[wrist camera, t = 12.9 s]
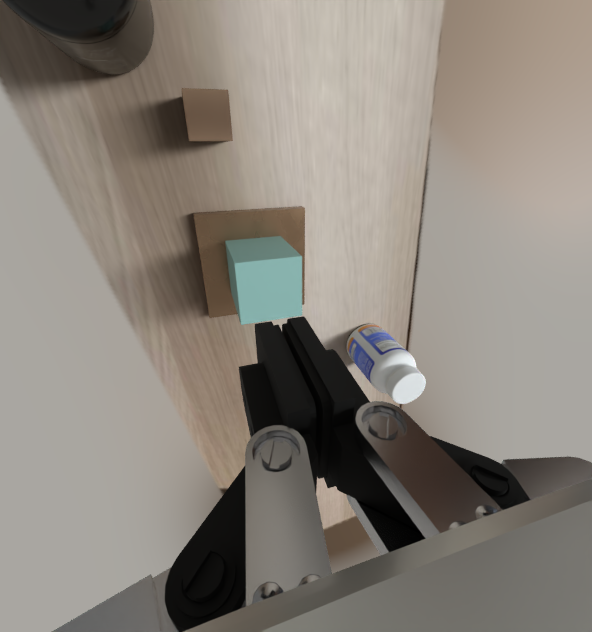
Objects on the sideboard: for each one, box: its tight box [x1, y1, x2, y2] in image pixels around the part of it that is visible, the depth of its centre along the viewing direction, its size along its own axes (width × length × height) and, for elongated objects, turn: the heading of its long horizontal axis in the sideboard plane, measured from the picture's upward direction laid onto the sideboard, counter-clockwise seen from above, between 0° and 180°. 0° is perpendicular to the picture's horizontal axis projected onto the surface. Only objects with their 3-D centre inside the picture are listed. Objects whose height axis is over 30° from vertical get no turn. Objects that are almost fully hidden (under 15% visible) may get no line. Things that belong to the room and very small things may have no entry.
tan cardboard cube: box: [182, 88, 233, 142], centre depth 23 cm, size 3×3×4 cm
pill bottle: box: [346, 324, 426, 404], centre depth 37 cm, size 5×5×10 cm
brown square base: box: [193, 206, 305, 318], centre depth 29 cm, size 10×10×7 cm
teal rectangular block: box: [225, 236, 302, 325], centre depth 28 cm, size 5×5×7 cm
